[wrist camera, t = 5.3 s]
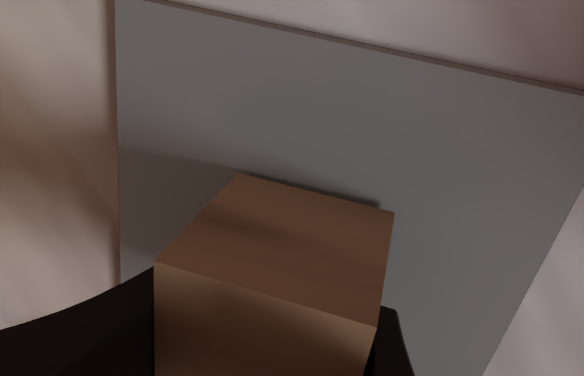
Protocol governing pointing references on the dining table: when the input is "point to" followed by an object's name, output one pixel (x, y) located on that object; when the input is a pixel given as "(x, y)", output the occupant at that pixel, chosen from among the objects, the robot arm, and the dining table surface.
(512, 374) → the dining table surface
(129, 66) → the slate trivet
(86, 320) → the robot arm
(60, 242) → the dining table surface
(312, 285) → the walnut cube
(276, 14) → the dining table surface
